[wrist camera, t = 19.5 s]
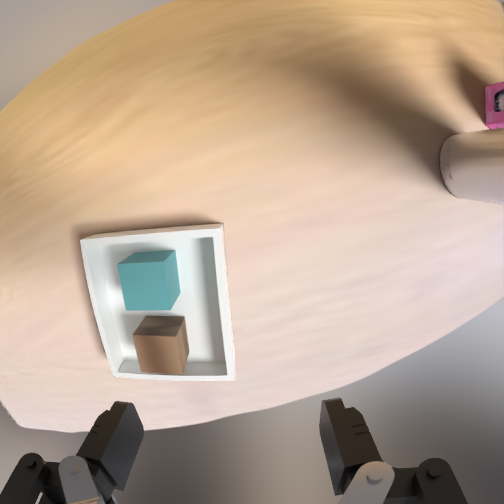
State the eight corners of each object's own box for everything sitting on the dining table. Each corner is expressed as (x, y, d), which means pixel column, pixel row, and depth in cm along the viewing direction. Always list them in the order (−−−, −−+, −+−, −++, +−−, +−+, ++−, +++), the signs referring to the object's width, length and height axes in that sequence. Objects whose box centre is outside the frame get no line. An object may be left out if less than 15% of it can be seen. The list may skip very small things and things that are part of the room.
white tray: (223, 223, 31) (220, 228, 28) (235, 361, 35) (234, 380, 32) (96, 234, 31) (79, 240, 27) (123, 360, 35) (113, 376, 31)
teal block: (175, 250, 31) (163, 261, 26) (180, 292, 32) (170, 310, 27) (134, 252, 31) (117, 264, 26) (141, 293, 32) (125, 310, 27)
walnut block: (184, 316, 33) (176, 336, 28) (189, 351, 34) (182, 374, 29) (145, 315, 33) (132, 334, 28) (152, 349, 34) (141, 371, 29)
